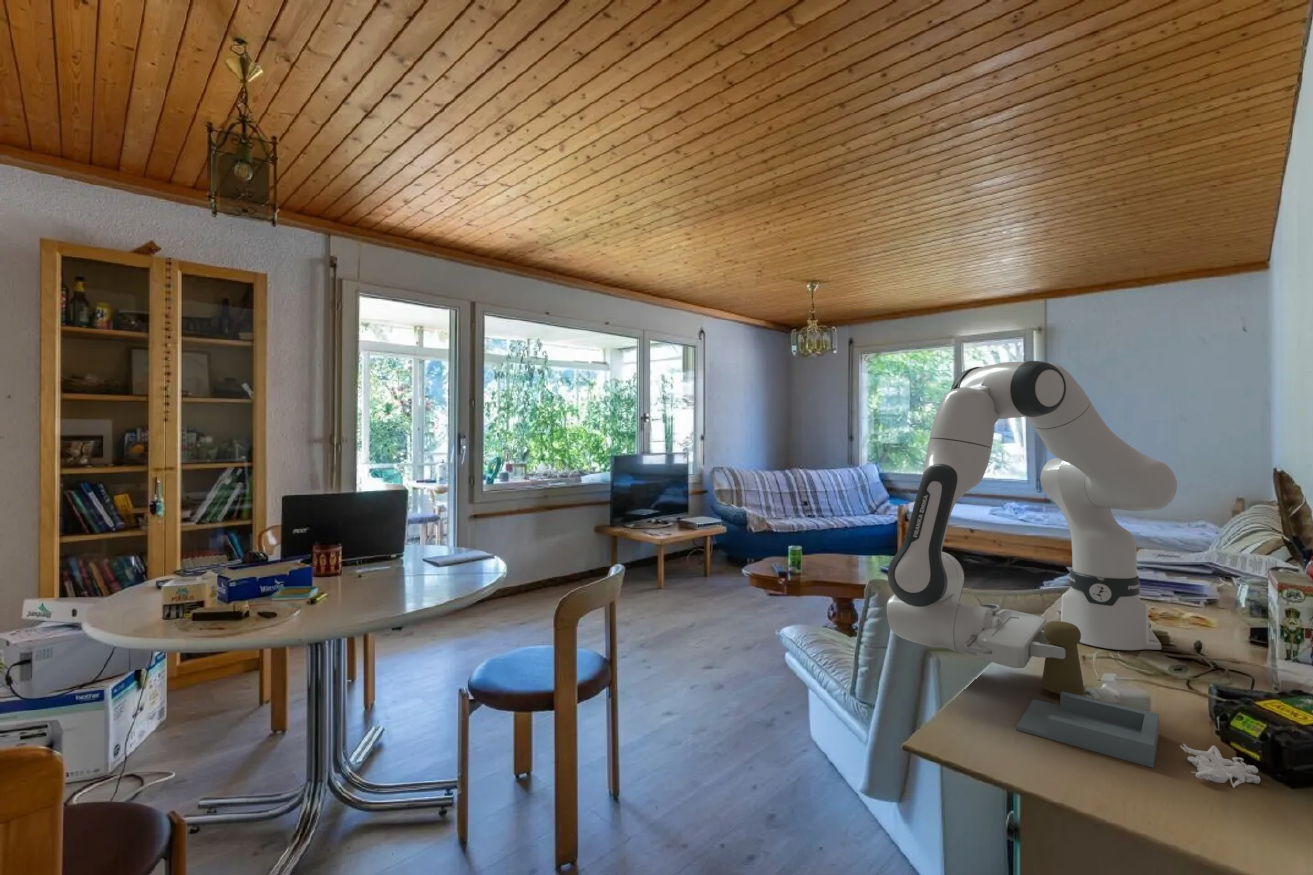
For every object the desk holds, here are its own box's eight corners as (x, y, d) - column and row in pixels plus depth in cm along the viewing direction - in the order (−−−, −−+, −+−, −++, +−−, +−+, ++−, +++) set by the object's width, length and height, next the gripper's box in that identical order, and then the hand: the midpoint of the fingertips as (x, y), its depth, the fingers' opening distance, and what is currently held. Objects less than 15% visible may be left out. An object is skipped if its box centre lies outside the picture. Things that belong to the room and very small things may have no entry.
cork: (1090, 697, 100) (1090, 629, 100) (1048, 693, 101) (1048, 627, 101) (1075, 682, 106) (1075, 618, 106) (1036, 679, 107) (1035, 616, 107)
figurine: (1253, 774, 81) (1273, 802, 74) (1177, 756, 85) (1189, 782, 78) (1254, 750, 81) (1273, 777, 74) (1178, 734, 85) (1190, 757, 78)
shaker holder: (1033, 702, 101) (1033, 684, 101) (1158, 733, 90) (1158, 713, 90) (1016, 729, 92) (1016, 709, 92) (1153, 767, 81) (1153, 745, 81)
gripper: (961, 628, 104) (1057, 647, 95) (992, 601, 120) (1077, 615, 110) (961, 665, 105) (1057, 687, 95) (992, 633, 120) (1078, 649, 111)
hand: (1068, 648), depth 103 cm, fingers closed on cork, 4 cm apart
